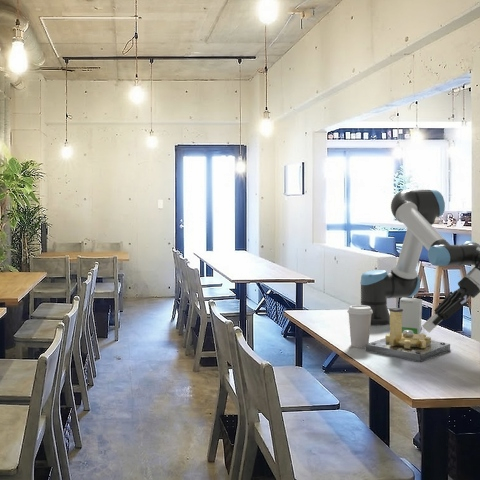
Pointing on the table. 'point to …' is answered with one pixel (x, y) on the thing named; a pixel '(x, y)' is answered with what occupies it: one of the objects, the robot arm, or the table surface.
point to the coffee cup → (359, 325)
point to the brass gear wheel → (397, 335)
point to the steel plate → (407, 353)
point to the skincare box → (411, 314)
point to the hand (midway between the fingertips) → (425, 329)
